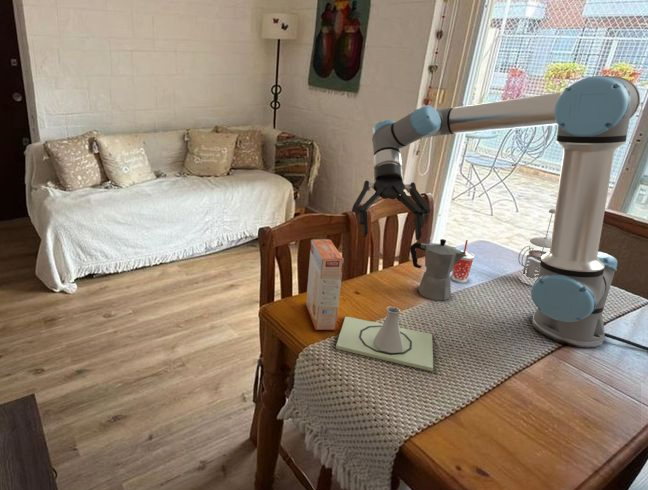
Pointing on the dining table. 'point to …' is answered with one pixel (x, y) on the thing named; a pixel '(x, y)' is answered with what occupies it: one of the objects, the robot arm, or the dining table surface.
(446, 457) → the dining table surface
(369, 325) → the drawing board
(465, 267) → the beverage cup
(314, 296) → the cracker box
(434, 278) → the coffeepot
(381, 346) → the flask
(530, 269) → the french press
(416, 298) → the dining table surface
